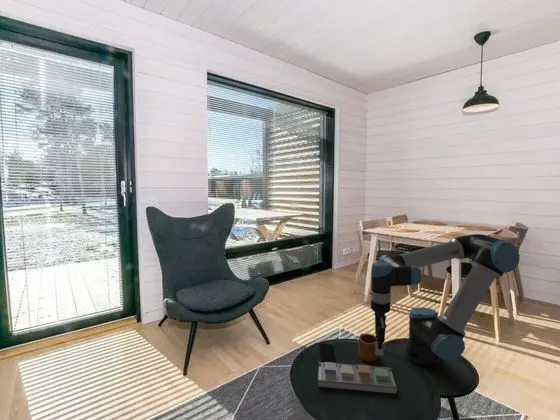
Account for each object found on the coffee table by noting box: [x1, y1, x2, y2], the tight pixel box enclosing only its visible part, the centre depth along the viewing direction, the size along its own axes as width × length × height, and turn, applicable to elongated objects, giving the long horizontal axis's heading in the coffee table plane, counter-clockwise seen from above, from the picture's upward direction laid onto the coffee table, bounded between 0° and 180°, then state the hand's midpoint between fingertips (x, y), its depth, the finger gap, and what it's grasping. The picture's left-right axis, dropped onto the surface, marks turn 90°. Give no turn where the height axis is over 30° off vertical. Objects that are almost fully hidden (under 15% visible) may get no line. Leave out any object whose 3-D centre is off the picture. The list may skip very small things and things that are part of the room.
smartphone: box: [318, 343, 337, 364], centre depth 148 cm, size 7×1×15 cm
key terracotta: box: [357, 364, 371, 377], centre depth 128 cm, size 5×5×2 cm
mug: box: [358, 333, 379, 363], centre depth 146 cm, size 9×12×9 cm
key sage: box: [374, 368, 388, 381], centre depth 127 cm, size 5×5×2 cm
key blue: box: [324, 362, 337, 374], centre depth 131 cm, size 5×5×2 cm
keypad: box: [317, 361, 398, 394], centre depth 129 cm, size 31×12×3 cm, turn 80°
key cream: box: [341, 365, 353, 378], centre depth 130 cm, size 5×5×2 cm
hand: (379, 354), depth 126 cm, fingers closed
